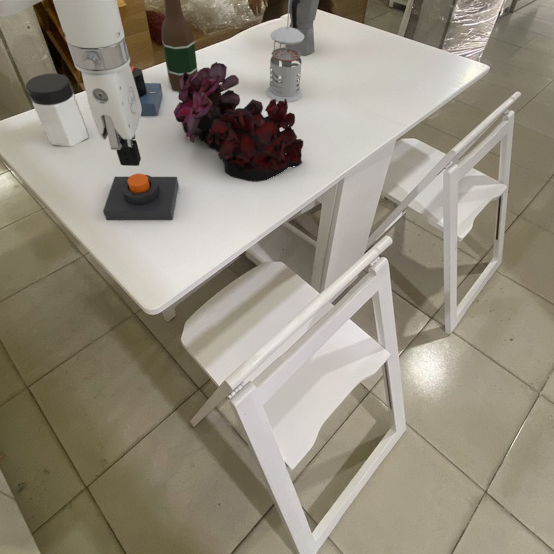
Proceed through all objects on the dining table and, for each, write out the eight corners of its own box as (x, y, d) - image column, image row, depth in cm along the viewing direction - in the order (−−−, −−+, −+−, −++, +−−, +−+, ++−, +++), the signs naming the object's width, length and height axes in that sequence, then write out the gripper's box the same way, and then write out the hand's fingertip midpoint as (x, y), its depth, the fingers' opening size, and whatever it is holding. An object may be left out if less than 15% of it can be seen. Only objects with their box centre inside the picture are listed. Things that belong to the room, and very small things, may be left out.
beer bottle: (163, 84, 105) (143, -27, 86) (188, 75, 109) (173, -33, 90) (180, 96, 102) (163, -17, 83) (205, 86, 105) (194, -24, 86)
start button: (128, 193, 73) (125, 185, 71) (131, 181, 75) (129, 173, 73) (148, 193, 73) (146, 186, 71) (151, 181, 75) (149, 173, 74)
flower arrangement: (314, 154, 88) (323, 87, 77) (254, 198, 79) (254, 129, 67) (214, 104, 100) (209, 39, 88) (152, 136, 90) (136, 68, 78)
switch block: (106, 220, 73) (99, 203, 70) (117, 185, 79) (111, 168, 76) (172, 220, 74) (168, 203, 71) (178, 185, 80) (175, 169, 77)
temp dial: (145, 97, 95) (140, 76, 91) (124, 97, 94) (118, 75, 90) (148, 87, 98) (143, 66, 94) (128, 87, 97) (122, 66, 93)
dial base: (106, 115, 95) (101, 102, 93) (114, 94, 101) (111, 81, 99) (157, 115, 96) (154, 103, 93) (162, 95, 102) (160, 82, 99)
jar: (48, 129, 90) (23, 75, 81) (85, 122, 93) (66, 69, 83) (51, 151, 86) (25, 96, 76) (91, 143, 88) (71, 89, 78)
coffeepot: (292, 38, 127) (297, -31, 113) (320, 44, 125) (328, -26, 111) (275, 57, 118) (277, -15, 103) (305, 64, 116) (311, -10, 102)
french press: (272, 104, 101) (275, -13, 81) (258, 83, 108) (259, -31, 88) (308, 99, 103) (320, -17, 84) (292, 78, 110) (300, -33, 90)
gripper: (116, 78, 51) (146, 191, 65) (136, 30, 60) (159, 138, 75) (55, 76, 50) (99, 190, 65) (85, 28, 60) (118, 137, 74)
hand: (131, 162), depth 70 cm, fingers closed
